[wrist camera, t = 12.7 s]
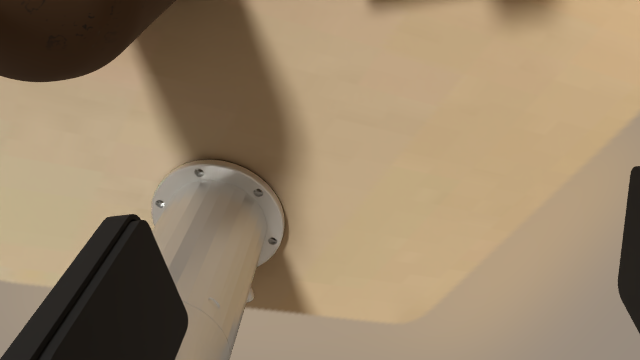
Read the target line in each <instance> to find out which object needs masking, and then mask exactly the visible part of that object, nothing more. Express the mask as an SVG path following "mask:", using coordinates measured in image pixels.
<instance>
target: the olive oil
mask: <svg viewBox="0 0 640 360" xmlns="http://www.w3.org/2000/svg"><path fill="white" fill-rule="evenodd" d="M174 1H176V0H0V76H3V77H6V78H10V79H15V80H21V81H28V82H51V81H60V80H66V79H71V78H76V77H80V76H83V75H86V74H89V73H91V72H94V71H96V70H98V69H100V68H102V67H103V66H105V65H107V64H108V63H110V62H111V61H112V60H114V59H115V58H116V57H117V56H118V55H119V54H121V53H122V52H123V51H124V50H125V49H126V48H127V47H128V46H129V45H130V44H131V43H132V42H133V41H134V40H135V39H136V38H137V37H138V36H139V35H140V34H141V33H142V32H143V31H144V30H145V29H146V28H147V27H148V26H149V25H150V24H151V23H152V22H153V21H154V20H155V19H156V18H157V17H158V16H159V15H161V14H162V13H163V12H164V11H165V10H166V9H167V8H168V7H169V6H170V5H171V4H172V3H173V2H174Z"/></svg>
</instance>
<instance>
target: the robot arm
mask: <svg viewBox="0 0 640 360" xmlns="http://www.w3.org/2000/svg"><path fill="white" fill-rule="evenodd" d="M151 214H152V218H153V223H154V226H155V227H154V228H153V230H152V231H151V228H150V226H149V224H148V223H147V222H146V221H145V220H141V219H140V218H139V217H138V216H137V215H134V214H130V215H121V216H112V217H107V218H106V219H105V220H104V221H103V222H102V223H101V225H100V226H99V227H98V229H97V230H96V231H95V233H94V234H93V235H92V237H91V238H90V239H89V241H88V242H87V243H86V245H85V246H84V247H83V249H82V250H81V251H80V253H79V254H78V255H77V257H76V258H75V260H74V261H73V262H72V264H71V265H70V266H69V268H68V269H67V270H66V272H65V273H64V274H63V276H62V277H61V278H60V280H59V281H58V282H57V284H56V285H55V286H54V288H53V289H52V290H51V292H50V293H49V294H48V296H47V297H46V298H45V300H44V301H43V303H42V304H41V305H40V306H39V308H38V309H37V310H36V312H35V313H34V314H33V316H32V317H31V319H30V320H29V321H28V323H27V324H26V325H25V327H24V328H23V329H22V331H21V332H20V333H19V335H18V336H17V337H16V339H15V340H14V341H13V343H12V344H11V345H10V347H9V348H8V350H7V351H6V352H5V354H4V355H3V356H2V357H1V359H0V360H229V359H230V355H231V352H232V349H233V346H234V342H235V339H236V336H237V332H238V329H239V325H240V322H241V318H242V315H243V312H244V309H245V305H246V303H247V302H250V301H252V300H253V299H254V292H253V289H252V286H251V285H252V281H253V278H254V275H255V271H256V268H257V267H259V266H260V265H262V264H263V263H265V262H266V261H268V260H269V259H270V258H271V257H272V256H273V255H274V254H275V252H276V251H277V249H278V248H279V246H280V243H281V240H282V237H283V233H284V228H285V219H284V213H283V209H282V205H281V203H280V201H279V199H278V197H277V196H276V194H275V193H274V191H273V190H272V189H271V188H270V186H269V185H268V184H267V183H266V182H264V181H263V180H262V179H261V178H260V177H259V176H257V175H256V174H254V173H253V172H251V171H249V170H248V169H246V168H243V167H241V166H239V165H236V164H233V163H229V162H225V161H220V160H197V161H193V162H189V163H186V164H183V165H181V166H179V167H177V168H175V169H174V170H172V171H171V172H170V173H169V174H168V175H166V176H165V178H164V179H163V180H162V182H161V183H160V184H159V186H158V188H157V190H156V191H155V193H154V196H153V199H152V211H151ZM618 288H619V294H620V297H621V299H622V301H623V303H624V305H625V307H626V309H627V311H628V313H629V314H630V316H631V318H632V320H633V322H634V324H635V326H636V327H637V329H638V331H639V333H640V166H636V167H634V168H633V169H632V171H631V175H630V183H629V191H628V199H627V208H626V216H625V225H624V233H623V242H622V250H621V258H620V266H619V275H618Z"/></svg>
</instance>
